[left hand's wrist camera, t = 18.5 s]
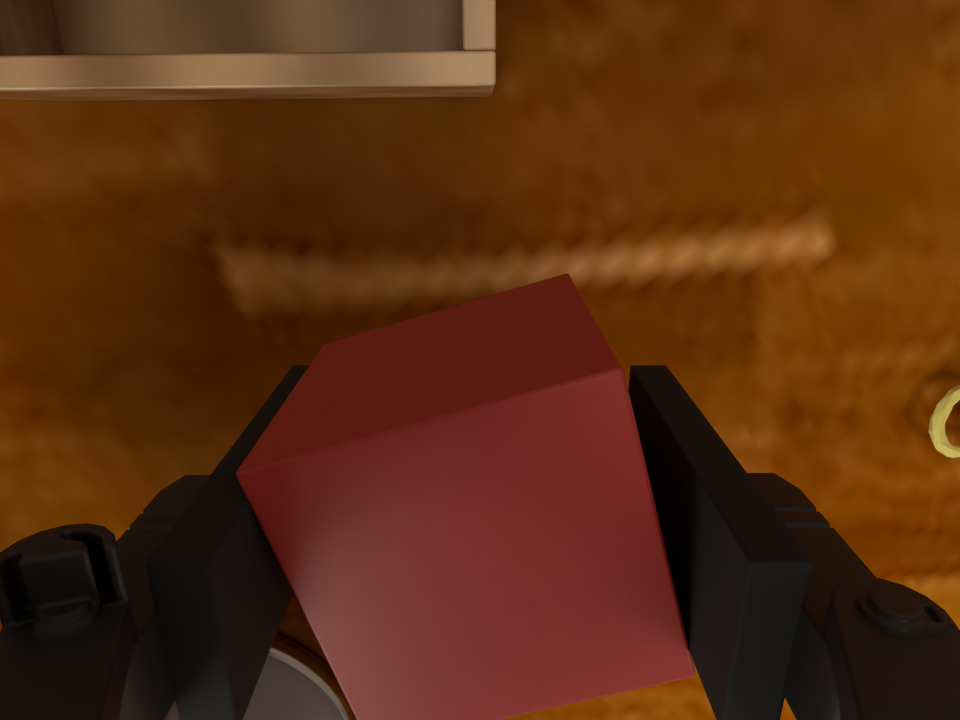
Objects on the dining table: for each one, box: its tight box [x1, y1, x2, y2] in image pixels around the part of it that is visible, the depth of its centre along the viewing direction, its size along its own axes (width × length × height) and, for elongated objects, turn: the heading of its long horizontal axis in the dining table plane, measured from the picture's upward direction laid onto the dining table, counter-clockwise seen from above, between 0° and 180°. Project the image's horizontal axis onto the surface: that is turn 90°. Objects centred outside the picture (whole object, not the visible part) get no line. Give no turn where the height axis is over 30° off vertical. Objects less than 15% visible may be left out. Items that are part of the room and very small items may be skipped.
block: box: [236, 274, 695, 720], centre depth 12 cm, size 5×5×5 cm
